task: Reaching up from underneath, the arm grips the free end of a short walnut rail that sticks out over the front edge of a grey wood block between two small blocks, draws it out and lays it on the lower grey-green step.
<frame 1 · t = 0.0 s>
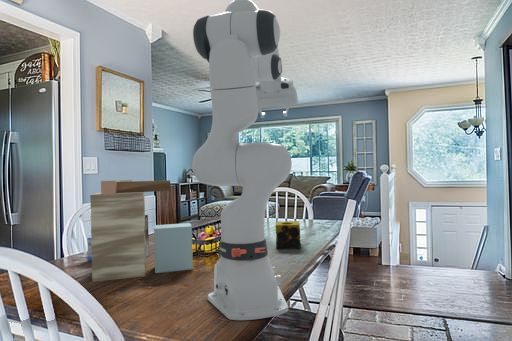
hand: (274, 116, 144), 54 cm above the table, tool tilted 30°, fingers open, 8 cm apart
rail: (140, 191, 114), point 26 cm above the table, touching grey wood block
terracotta block: (109, 193, 107), point 26 cm above the table, touching grey wood block
cream block: (125, 191, 116), point 26 cm above the table, touching grey wood block
step: (173, 268, 116), on the table
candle: (288, 247, 146), on the table
coffee box: (135, 258, 131), on the table
medicine box: (99, 261, 130), on the table
grey wood block: (121, 273, 112), on the table
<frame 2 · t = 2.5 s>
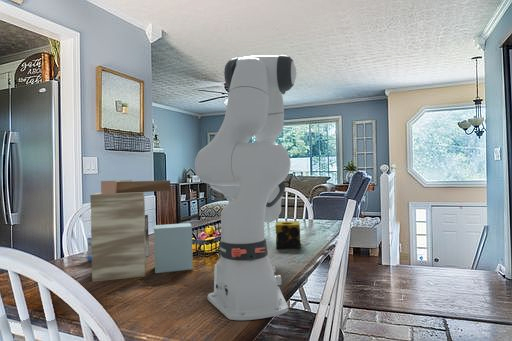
hand: (204, 177, 119), 30 cm above the table, tool pointing upward, fingers open, 8 cm apart
nothing on the table moved.
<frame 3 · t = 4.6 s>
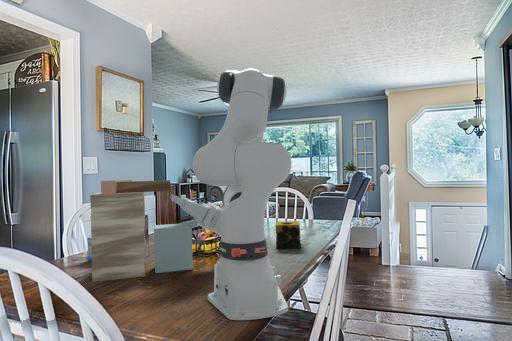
hand: (171, 196, 116), 24 cm above the table, tool pointing upward, fingers open, 8 cm apart
nothing on the table moved.
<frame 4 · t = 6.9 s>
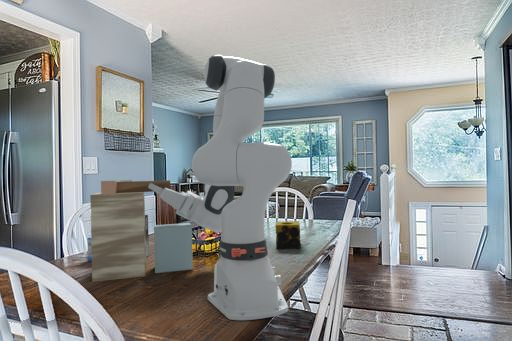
hand: (149, 184, 114), 28 cm above the table, tool pointing upward, fingers closed on rail, 3 cm apart
rail: (140, 191, 114), point 26 cm above the table, touching grey wood block, gripper
everything else where it was.
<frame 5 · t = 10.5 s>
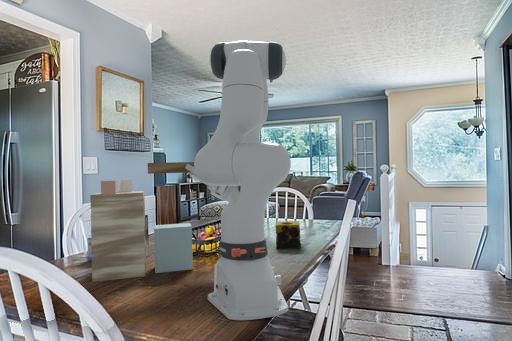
hand: (185, 166, 118), 34 cm above the table, tool pointing upward, fingers closed on rail, 3 cm apart
rail: (177, 172, 117), point 32 cm above the table, touching gripper
everything else where it was.
when the fingers open (18 cm above the table, at t = 14.0 s): rail drops 2 cm, resting on step.
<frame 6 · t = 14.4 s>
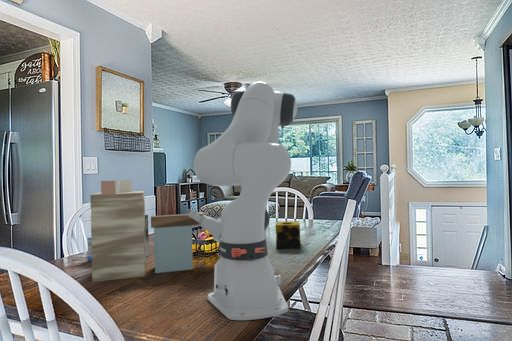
hand: (188, 212, 118), 18 cm above the table, tool pointing upward, fingers open, 7 cm apart
rail: (180, 225, 117), point 14 cm above the table, touching step
everything else where it was.
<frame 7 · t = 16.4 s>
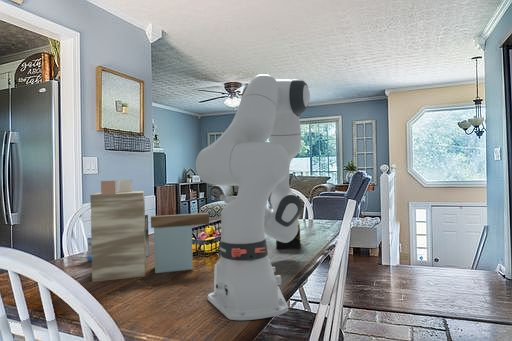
hand: (223, 197, 121), 23 cm above the table, tool pointing upward, fingers open, 8 cm apart
nothing on the table moved.
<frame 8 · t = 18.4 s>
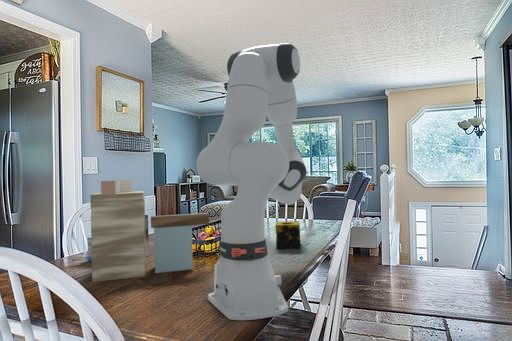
hand: (227, 159, 122), 36 cm above the table, tool pointing upward, fingers open, 8 cm apart
nothing on the table moved.
at the end: rail inside the target area on the step (1.1 cm from its centre), point 14.2 cm above the step's base; the gripper is holding nothing; rail touching step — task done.
